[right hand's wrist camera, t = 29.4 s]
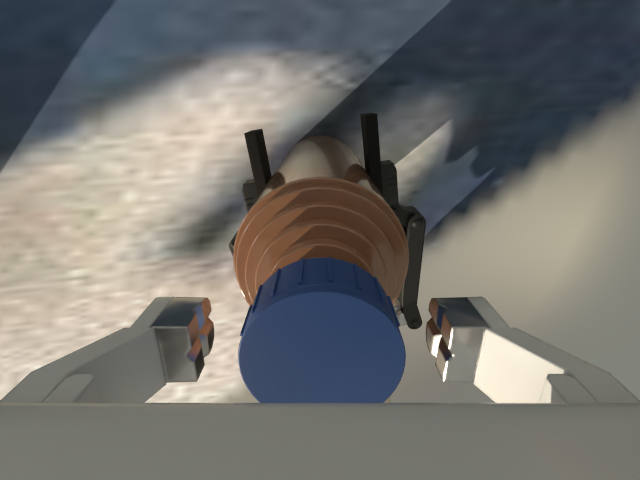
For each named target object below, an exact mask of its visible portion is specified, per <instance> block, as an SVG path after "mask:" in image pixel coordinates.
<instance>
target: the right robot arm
mask: <svg viewBox="0 0 640 480" xmlns="http://www.w3.org/2000/svg"><path fill="white" fill-rule="evenodd" d="M210 312H211V305H210V301H209V299H208V298H194V297H158V298H155V299H154V300H153V301H152V303H151V304H150V305H149V306H148V307H147V308H146V310H145V311H144V312H143V313H142V314H141V315H140V317H139V318H138V319H137V320H136V321H135V322H134V324H133V325H132V326H131V327H130V328H123V329H121V330H119V331H117V332H115V333H113V334H111V335H108V336H106V337H104V338H102V339H100V340H98V341H96V342H94V343H92V344H90V345H87V346H85V347H83V348H81V349H79V350H77V351H75V352H73V353H71V354H69V355H66V356H64V357H62V358H60V359H58V360H56V361H54V362H52V363H50V364H48V365H45V366H43V367H41V368H39V369H37V370H35V371H33V372H31V373H30V374H29V375H28V376H26V377H25V378H24V379H23V380H22V381H21V382H20V383H19V384H18V385H17V386H16V387H15V388H13V389H12V390H11V391H10V392H9V393H8V394H7V395H6V396H5V397H4V398H3V399H2V400H0V480H640V400H638V399H637V398H636V397H635V396H634V395H633V394H632V393H631V392H630V391H629V390H628V389H627V388H626V387H625V386H623V385H622V384H621V383H620V382H619V381H618V380H617V379H616V378H615V377H614V376H613V375H612V374H610V373H609V372H607V371H605V370H603V369H601V368H598V367H596V366H594V365H592V364H590V363H588V362H586V361H584V360H582V359H580V358H578V357H575V356H573V355H571V354H569V353H567V352H565V351H563V350H561V349H559V348H557V347H555V346H552V345H550V344H548V343H546V342H544V341H542V340H540V339H538V338H536V337H534V336H531V335H529V334H527V333H525V332H523V331H521V330H519V329H517V328H510V327H509V326H508V325H507V324H506V322H505V321H504V320H503V319H502V318H501V317H500V315H499V314H498V313H497V312H496V311H495V310H494V308H493V307H492V306H491V305H490V304H489V303H488V302H487V300H486V299H485V298H483V297H460V298H432V299H431V301H430V304H429V312H430V314H431V316H432V318H431V319H430V320H429V321H428V322H427V326H426V341H427V345H428V349H429V351H430V353H431V354H432V355H433V356H434V357H436V367H437V369H438V371H439V373H440V376H441V378H442V380H443V382H473V383H474V385H476V386H477V387H478V388H479V389H480V390H481V391H483V392H484V393H485V394H486V395H487V396H489V397H490V398H491V399H492V400H493V401H495V402H496V403H144V402H146V401H147V400H148V399H149V398H150V397H152V396H153V395H154V394H155V393H156V392H157V391H159V390H160V389H161V388H162V387H163V386H165V385H166V383H167V382H197V380H198V378H199V376H200V374H201V371H202V369H203V367H204V365H205V364H204V357H206V356H207V355H208V354H209V353H210V351H211V349H212V345H213V340H214V325H213V322H212V321H211V320H210V319H209V318H208V316H209V314H210Z"/></svg>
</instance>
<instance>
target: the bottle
mask: <svg viewBox="0 0 640 480" xmlns="http://www.w3.org/2000/svg"><path fill="white" fill-rule="evenodd" d="M321 257H324V258H328V257H331V258H334V259H339V260H344V261H347V262H350V263H352V264H354V263H355V264H357V266H359V267H361V268H362V269H364V270H365V271H367V272H368V273H369V274H371V275H372V276H373V277H374V278H375V277H376V278H377V279H378V282H379V283H380V284H381V286H382V287H383V289H384V291H385V292H386V294H387V296H390V298H391V301H392V304H394V303H395V301H396V300H397V298H398V296H399V294H400V292H401V289H402V287H403V284H404V281H405V278H406V274H407V270H408V263H409V249H408V243H407V238H406V235H405V232H404V229H403V227H402V225H401V223H400V221H399V219H398V217H397V216H396V214H395V213H394V211H393V210H392V208H391V207H390V206H389V204H388V203H387V201H386V200H385V198H384V197H383V195H382V194H381V192H380V191H379V189H378V188H377V187H376V185H375V184H374V182H373V181H372V179H371V178H370V176H369V175H368V173H367V172H366V171H365V169H364V168H363V166H362V165H361V163H360V162H359V160H358V159H357V157H356V156H355V155H354V153H353V152H352V150H351V149H350V148H349V147H348V146H347V145H346V144H345V143H343V142H342V141H340V140H338V139H336V138H333V137H330V136H322V135H318V136H311V137H308V138H305V139H303V140H301V141H299V142H298V143H297V144H295V145H294V146H293V147H292V148H291V149H290V150H289V152H288V153H287V154H286V156H285V157H284V159H283V160H282V162H281V163H280V165H279V166H278V168H277V169H276V171H275V172H274V174H273V175H272V177H271V178H270V180H269V181H268V183H267V184H266V186H265V187H264V189H263V190H262V192H261V193H260V195H259V196H258V198H257V199H256V201H255V202H254V204H253V205H252V207H251V208H250V210H249V211H248V213H247V214H246V216H245V218H244V220H243V221H242V223H241V225H240V227H239V230H238V233H237V235H236V239H235V244H234V253H233V260H234V269H235V274H236V278H237V280H238V283H239V286H240V289H241V291H242V294H243V296H244V297H245V299H246V301H247V303H248V304H249V305H253V302H254V299H255V297H256V294H257V291H258V288H259V286H260V284H261V285H263V283H264V282H265V281H266V280H267V279H268V278H269V277H270V276H271V275H272V274H274V273H275V272H276V271H277V269H278V268H280V269H281V268H283V267H284V266H286V265H289V264H291V263H293V262H296V261H300V260H301V259H303V258H304V259H309V258H321Z"/></svg>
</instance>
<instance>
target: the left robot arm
mask: <svg viewBox="0 0 640 480" xmlns="http://www.w3.org/2000/svg"><path fill="white" fill-rule="evenodd" d="M361 125H362V136H363V147H364V158H365V169H366V172H367V173H368V175H369V176H370V178H371V179H372V181H373V182H374V184H375V185H376V187H377V188H378V189H379V191H380V192H381V194H382V195H383V197H384V198H385V200H386V201H387V203H388V204H389V206H390V207H391V208H392V210H393V211H394V213H395V214H396V216H397V217H398V219H399V221H400V223H401V225H402V227H403V229H404V232H405V235H406V238H407V243H408V249H409V263H408V270H407V274H406V278H405V281H404V284H403V287H402V289H401V292H400V294H399V296H398V298H397V300H396V301H395V303H394V304H393V307H394V309H395V312H396V315H397V318H398V320H399V323H400V326H402V325H406V324H407V325H408V327H409V328H411V329H417V328H419V327H420V326H421V325H422V320H421V316H420V313H419V310H418V307H417V298H418V289H419V280H420V271H421V262H422V253H423V244H424V235H425V226H426V220H425V219H424V217H423V216H422V215H421V214H420V213H419V212H418V211H417V209H416V208H414V207H413V206H408V207H406V206H402V205H399V203H398V188H397V170H396V168H395V166H394V164H393V163H392V162H391V161H390V160H386V161H380V148H379V135H378V121H377V114H375V113H366V114H361ZM244 134H245V139H246V144H247V148H248V153H249V158H250V162H251V167H252V172H253V176H254V179H251V180H247V181H246V182H245V183H244V185H243V191H242V192H243V196H244V200H245V204H246V209H247V213H248V211H249V210H250V208H251V207H252V205H253V204H254V202H255V201H256V199H257V198H258V196H259V195H260V193H261V192H262V190H263V189H264V187H265V186H266V184H267V183H268V181H269V180H270V178H271V172H270V167H269V161H268V156H267V151H266V146H265V141H264V136H263V131H262V129H259V130H252V131H250V132H247V133H244ZM237 233H238V231H237ZM237 233H236V234H235V236H234V237H233V239H232V240H231V242H230V244H229V248H230V251H231V253H232V256H233V253H234V244H235V239H236V235H237ZM398 327H399V326H398ZM384 403H390V397H389V398H388V399H387V400H386V401H385V402H384Z"/></svg>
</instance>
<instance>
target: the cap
mask: <svg viewBox="0 0 640 480" xmlns="http://www.w3.org/2000/svg"><path fill="white" fill-rule="evenodd" d="M398 326H400V323H399V320H398V318H397V315H396V312H395V309H394V307H393V304H392V301H391V298H390V296H387V294H386V292H385V291H384V289H383V287H382V286H381V284H380V283H379V282H378V279H377V278H376V277H375V278H374V277H373V276H372V275H371V274H369V273H368V272H367V271H365V270H364V269H362V268H361V267H359V266H357V264H355V263H354V264H352V263H350V262H347V261H344V260H339V259H334V258H331V257H328V258H324V257H321V258H309V259H304V258H303V259H301V260H300V261H296V262H293V263H291V264H289V265H286V266H284V267H283V268H281V269H280V268H278V269H277V271H276V272H275V273H274V274H272V275H271V276H270V277H269V278H268V279H267V280H266V281H265V282H264V283H263V285H261V284H260V286H259V288H258V291H257V294H256V297H255V299H254V302H253V305H250V307H249V310H248V313H247V316H246V319H245V322H244V325H243V328H242V331H241V334H240V336H242V338H241V341H240V344H239V350H238V364H239V370H240V373H241V376H242V379H243V381H244V383H245V385H246V387H247V388H248V390H249V391H250V392H251V394H252V395H253V396H254V397H255V398H256V399H257V400H258V401H259V402H260V403H384V402H385V401H386V400H387V399H388V398H389V397H390V396H391V394H392V393H393V392H394V390H395V389H396V387H397V386H398V384H399V382H400V380H401V377H402V375H403V372H404V367H405V358H406V354H405V346H404V342H403V339H402V336H401V333H400V330H399V327H398Z"/></svg>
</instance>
